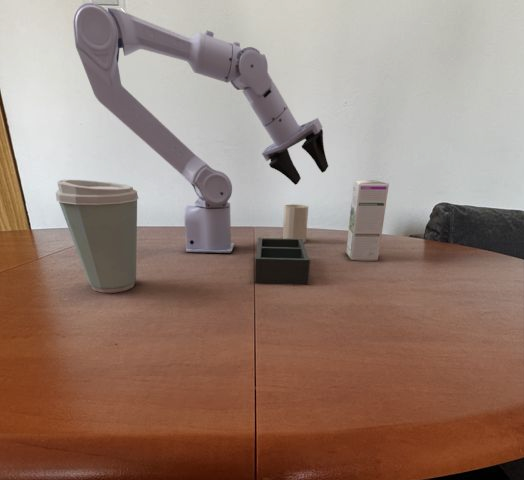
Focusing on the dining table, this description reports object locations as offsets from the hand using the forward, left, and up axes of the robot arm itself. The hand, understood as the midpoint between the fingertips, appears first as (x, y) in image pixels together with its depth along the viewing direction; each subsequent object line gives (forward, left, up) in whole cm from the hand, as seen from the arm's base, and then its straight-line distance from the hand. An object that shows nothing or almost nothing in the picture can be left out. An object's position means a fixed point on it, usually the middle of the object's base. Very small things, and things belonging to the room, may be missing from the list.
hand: (311, 175), depth 81 cm
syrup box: (+10, -11, -15) cm, 21 cm away
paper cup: (-3, +4, -15) cm, 15 cm away
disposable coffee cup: (-33, -34, -15) cm, 49 cm away
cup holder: (-7, -22, -15) cm, 27 cm away
